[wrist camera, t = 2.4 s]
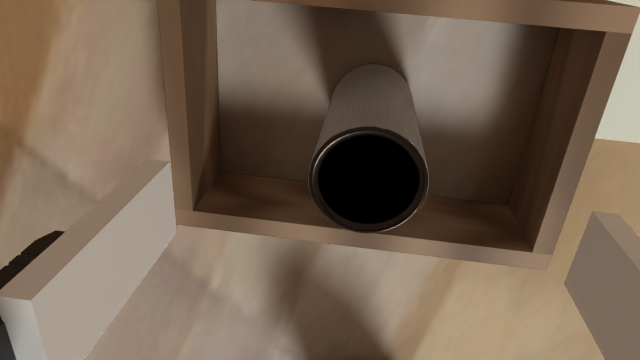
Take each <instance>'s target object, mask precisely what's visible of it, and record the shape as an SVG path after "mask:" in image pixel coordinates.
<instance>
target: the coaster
mask: <svg viewBox="0 0 640 360" xmlns="http://www.w3.org/2000/svg"><path fill="white" fill-rule="evenodd" d="M609 1H613V2H618V3H622V4H627V5H632V6H636V7H640V0H609ZM595 138H598V139H608V140H617V141H627V142H637V143H640V14H639V16H638V19H637V22H636V25H635V27H634V30H633V33H632V36H631V39H630V41H629V44H628V47H627V50H626V52H625V55H624V58H623V61H622V63H621V66H620V69H619V72H618V75H617V77H616V80H615V83H614V86H613V88H612V91H611V94H610V97H609V99H608V102H607V105H606V108H605V111H604V113H603V116H602V119H601V122H600V124H599V127H598V130H597V133H596V135H595Z"/></svg>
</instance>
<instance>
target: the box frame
mask: <svg viewBox="0 0 640 360" xmlns="http://www.w3.org/2000/svg"><path fill="white" fill-rule="evenodd" d="M253 1H264V2H276V3H287V4H299V5H310V6H322V7H333V8H344V9H356V10H367V11H379V12H390V13H401V14H413V15H424V16H436V17H447V18H459V19H470V20H481V21H493V22H504V23H516V24H527V25H538V26H550V27H560V30H559V33H558V37H557V40H556V44H555V47H554V50H553V54H552V57H551V61H550V64H549V68H548V71H547V74H546V78H545V81H544V85H543V88H542V92H541V95H540V98H539V102H538V105H537V109H536V112H535V116H534V119H533V122H532V126H531V129H530V133H529V136H528V140H527V143H526V146H525V150H524V153H523V157H522V160H521V164H520V167H519V170H518V174H517V177H516V181H515V184H514V188H513V191H512V194H511V198H510V201H509V205H503V204H494V203H485V202H477V201H468V200H459V199H451V198H442V197H433V196H426V198H425V201H424V202H423V204H422V206H421V208H420V209H419V210H418V212H417V213H416V214H415V215H414V216H413V217H412V218H411V219H410V220H408V221H407V222H406V223H404V224H402V225H401V226H399V227H397V228H394V229H392V230H389V231H385V232H381V233H358V232H353V231H350V230H347V229H344V228H342V227H340V226H338V225H336V224H334V223H333V222H331V221H330V220H329V219H327V218H326V217H325V216H324V215H323V214H322V213H321V212H320V210H319V209H318V208H317V206H316V205H315V203H314V201H313V199H312V196H311V194H310V190H309V185H308V182H304V181H295V180H286V179H278V178H269V177H260V176H252V175H243V174H234V173H226V172H221V159H220V126H219V92H218V58H217V25H216V0H158V12H159V24H160V36H161V48H162V60H163V72H164V84H165V96H166V108H167V120H168V133H169V145H170V157H171V169H172V181H173V193H174V205H175V217H176V225H184V226H192V227H200V228H208V229H216V230H224V231H232V232H240V233H248V234H256V235H264V236H272V237H280V238H288V239H296V240H304V241H312V242H320V243H328V244H336V245H344V246H352V247H360V248H368V249H376V250H384V251H392V252H400V253H408V254H416V255H424V256H432V257H440V258H449V259H457V260H465V261H473V262H481V263H489V264H497V265H505V266H513V267H521V268H529V269H537V270H545V271H547V268H548V266H549V263H550V260H551V257H552V255H553V252H554V249H555V246H556V243H557V241H558V238H559V235H560V232H561V230H562V227H563V224H564V221H565V219H566V216H567V213H568V210H569V207H570V205H571V202H572V199H573V196H574V194H575V191H576V188H577V185H578V183H579V180H580V177H581V174H582V171H583V169H584V166H585V163H586V160H587V158H588V155H589V152H590V149H591V147H592V144H593V141H594V138H595V135H596V133H597V130H598V127H599V124H600V122H601V119H602V116H603V113H604V111H605V108H606V105H607V102H608V99H609V97H610V94H611V91H612V88H613V86H614V83H615V80H616V77H617V75H618V72H619V69H620V66H621V63H622V61H623V58H624V55H625V52H626V50H627V47H628V44H629V41H630V39H631V36H632V33H633V30H634V27H635V25H636V22H637V19H638V16H639V14H640V7H636V6H632V5H627V4H622V3H618V2H613V1H609V0H253Z"/></svg>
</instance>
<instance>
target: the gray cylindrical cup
mask: <svg viewBox="0 0 640 360" xmlns="http://www.w3.org/2000/svg"><path fill="white" fill-rule="evenodd" d="M308 185H309V190H310V194H311V196H312V199H313V201H314V203H315V205H316V206H317V208H318V209H319V210H320V212H321V213H322V214H323V215H324V216H325V217H326V218H327V219H329V220H330V221H331V222H333V223H334V224H336V225H338V226H340V227H342V228H344V229H347V230H350V231H353V232H358V233H381V232H385V231H389V230H392V229H394V228H397V227H399V226H401V225H402V224H404V223H406V222H407V221H408V220H410V219H411V218H412V217H413V216H414V215H415V214H416V213H417V212H418V210H419V209H420V208H421V206H422V204H423V202H424V201H425V198H426V195H427V192H428V187H429V173H428V167H427V162H426V158H425V153H424V148H423V144H422V139H421V135H420V130H419V125H418V121H417V116H416V112H415V107H414V103H413V98H412V94H411V91H410V89H409V86H408V84H407V83H406V81H405V80H404V78H403V77H402V76H401V75H400V74H399V73H397V72H396V71H395V70H393V69H391V68H389V67H386V66H383V65H378V64H368V65H363V66H359V67H357V68H355V69H353V70H351V71H350V72H348V73H347V74H346V75H345V76H344V77H343V78H342V79H341V80H340V82H339V83H338V85H337V87H336V88H335V91H334V93H333V96H332V99H331V102H330V105H329V108H328V111H327V114H326V117H325V121H324V124H323V127H322V130H321V133H320V136H319V139H318V142H317V145H316V148H315V151H314V154H313V157H312V160H311V164H310V167H309V173H308Z"/></svg>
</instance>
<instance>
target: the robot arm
mask: <svg viewBox="0 0 640 360" xmlns="http://www.w3.org/2000/svg"><path fill="white" fill-rule="evenodd" d="M175 234H176V224H175V212H174V201H173V189H172V177H171V165H170V162H169V161H161V160H152V159H147V160H146V161H144V162H143V163H142V164H141V165H140V166H139V167H138V168H137V169H135V170H134V171H133V172H132V173H131V174H130V175H129V176H128V177H126V178H125V179H124V180H123V181H122V182H121V183H120V184H119V185H117V186H116V187H115V188H114V189H113V190H112V191H111V192H110V193H108V194H107V195H106V196H105V197H104V198H103V199H102V200H101V201H99V202H98V203H97V204H96V205H95V206H94V207H93V208H92V209H90V210H89V211H88V212H87V213H86V214H85V215H84V216H83V217H82V218H80V219H79V220H78V221H77V222H76V223H75V224H74V225H73V226H71V227H70V228H69V229H68V230H67V231H66V232H63V231H54V232H52V233H50V234H48V235H45V236H43V237H41V238H39V239H37V240H35V241H34V242H33V243H32V244H31V245H29V246H28V247H27V248H26V249H25V250H23V251H22V252H21V255H18V256H16V257H15V258H14V259H13V260H12V261H10V262H9V265H8V266H4V267H3V268H2V269H1V270H0V360H84V359H85V358H86V357H87V355H88V354H89V353H90V351H91V350H92V348H93V347H94V346H95V344H96V343H97V342H98V340H99V339H100V337H101V336H102V335H103V333H104V332H105V331H106V329H107V328H108V326H109V325H110V324H111V322H112V321H113V320H114V318H115V317H116V315H117V314H118V313H119V311H120V310H121V309H122V307H123V306H124V305H125V303H126V302H127V300H128V299H129V298H130V296H131V295H132V294H133V292H134V291H135V289H136V288H137V287H138V285H139V284H140V283H141V281H142V280H143V278H144V277H145V276H146V274H147V273H148V272H149V270H150V269H151V267H152V266H153V265H154V263H155V262H156V261H157V259H158V258H159V256H160V255H161V254H162V252H163V251H164V250H165V248H166V247H167V245H168V244H169V243H170V241H171V240H172V239H173V237H174V236H175ZM564 284H565V286H566V288H567V290H568V292H569V293H570V295H571V297H572V299H573V301H574V303H575V305H576V306H577V308H578V310H579V312H580V314H581V316H582V317H583V319H584V321H585V323H586V325H587V327H588V329H589V330H590V332H591V334H592V336H593V338H594V340H595V341H596V343H597V345H598V347H599V349H600V351H601V353H602V354H603V356H604V358H605V360H640V237H639V236H638V235H637V234H636V233H635V232H634V231H633V229H632V228H631V227H630V226H629V225H628V224H627V223H626V222H625V220H624V219H623V218H622V217H621V216H620V215H619V214H613V213H604V212H596V211H592V213H591V216H590V219H589V221H588V224H587V226H586V229H585V231H584V234H583V236H582V239H581V242H580V244H579V247H578V249H577V252H576V254H575V257H574V260H573V262H572V265H571V267H570V270H569V272H568V275H567V277H566V280H565V283H564Z"/></svg>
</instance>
